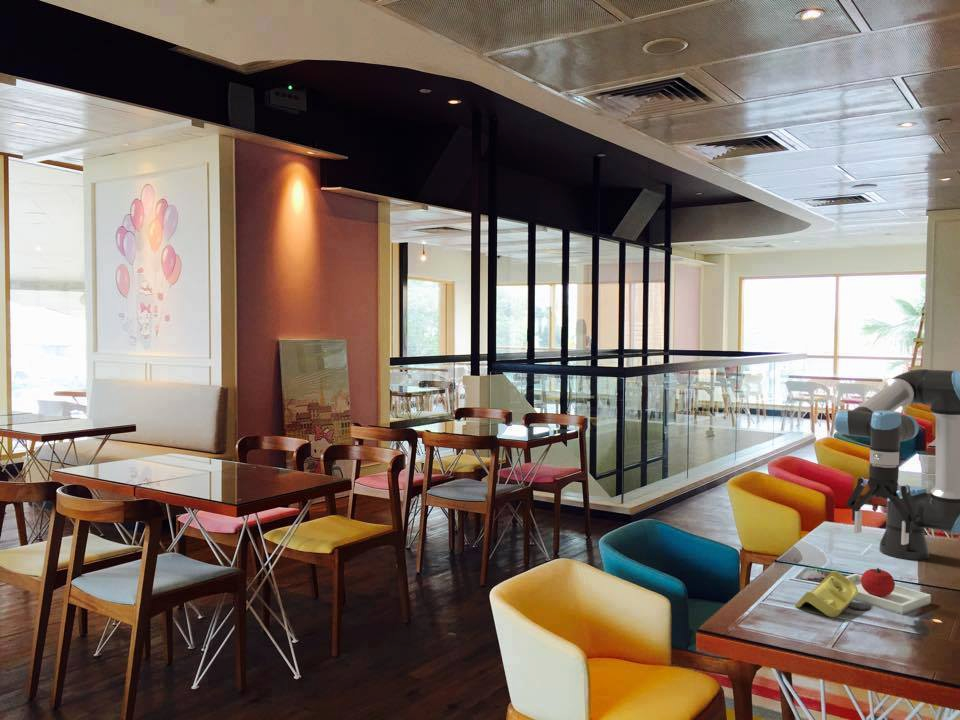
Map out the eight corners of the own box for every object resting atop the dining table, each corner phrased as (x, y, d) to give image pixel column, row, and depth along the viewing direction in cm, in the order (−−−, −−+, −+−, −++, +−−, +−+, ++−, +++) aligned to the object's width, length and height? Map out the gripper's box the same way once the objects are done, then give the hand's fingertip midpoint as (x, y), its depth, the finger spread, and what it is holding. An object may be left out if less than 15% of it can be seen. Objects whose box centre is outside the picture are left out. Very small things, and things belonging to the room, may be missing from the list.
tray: (855, 581, 241) (855, 573, 241) (930, 603, 224) (931, 594, 224) (826, 590, 232) (826, 582, 232) (902, 614, 214) (902, 605, 214)
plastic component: (838, 612, 209) (804, 587, 215) (825, 632, 212) (792, 608, 218) (862, 589, 224) (830, 566, 229) (850, 608, 226) (818, 586, 232)
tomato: (867, 599, 224) (868, 571, 223) (855, 589, 233) (856, 562, 232) (899, 601, 223) (901, 573, 223) (886, 590, 232) (887, 563, 231)
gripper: (835, 459, 234) (832, 529, 235) (922, 474, 214) (919, 551, 215) (849, 457, 238) (846, 526, 239) (936, 471, 218) (932, 546, 219)
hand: (880, 538), depth 227 cm, fingers open, 13 cm apart
